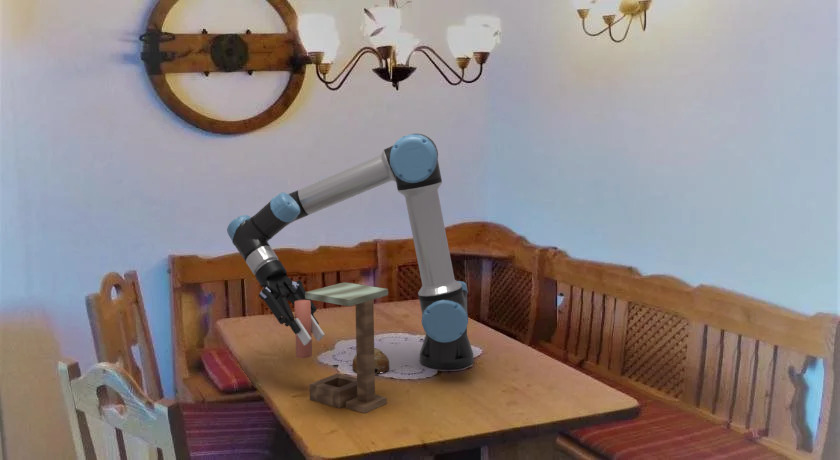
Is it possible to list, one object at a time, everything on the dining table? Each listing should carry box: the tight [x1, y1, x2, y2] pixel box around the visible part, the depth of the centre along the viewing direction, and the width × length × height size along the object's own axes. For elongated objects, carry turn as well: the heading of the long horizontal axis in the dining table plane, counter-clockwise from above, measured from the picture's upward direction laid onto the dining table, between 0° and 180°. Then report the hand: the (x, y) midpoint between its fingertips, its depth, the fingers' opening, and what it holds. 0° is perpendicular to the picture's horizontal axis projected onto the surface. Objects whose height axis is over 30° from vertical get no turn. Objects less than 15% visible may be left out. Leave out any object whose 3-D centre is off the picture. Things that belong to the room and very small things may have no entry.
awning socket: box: [305, 281, 389, 414], centre depth 193 cm, size 17×14×28 cm
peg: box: [294, 300, 313, 359], centre depth 202 cm, size 4×4×14 cm
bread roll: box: [351, 347, 390, 375], centre depth 219 cm, size 10×10×8 cm
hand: (314, 339), depth 200 cm, fingers closed on peg, 4 cm apart
